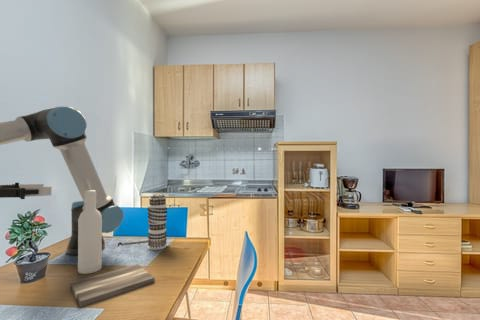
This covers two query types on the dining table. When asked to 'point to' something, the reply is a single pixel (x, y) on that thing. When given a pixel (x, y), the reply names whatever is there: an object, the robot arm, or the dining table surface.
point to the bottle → (90, 236)
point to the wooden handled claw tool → (132, 243)
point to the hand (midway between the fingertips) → (47, 189)
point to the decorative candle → (157, 222)
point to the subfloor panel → (110, 284)
